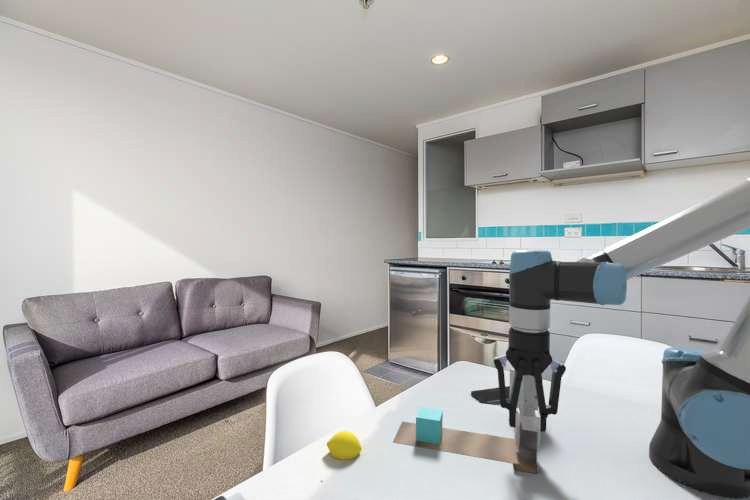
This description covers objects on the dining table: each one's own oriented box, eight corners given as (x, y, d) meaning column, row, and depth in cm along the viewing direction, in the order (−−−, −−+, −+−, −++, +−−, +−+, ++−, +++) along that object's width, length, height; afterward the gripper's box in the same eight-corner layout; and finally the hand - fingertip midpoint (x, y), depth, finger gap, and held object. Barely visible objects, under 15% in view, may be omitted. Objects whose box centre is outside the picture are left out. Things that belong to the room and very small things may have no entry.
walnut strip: (531, 447, 76) (532, 413, 76) (537, 473, 68) (538, 435, 68) (402, 426, 85) (402, 396, 84) (392, 447, 76) (393, 413, 76)
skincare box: (524, 425, 86) (525, 374, 85) (507, 417, 90) (508, 368, 89) (539, 418, 89) (540, 369, 89) (523, 410, 93) (523, 364, 93)
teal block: (442, 432, 80) (442, 410, 80) (439, 444, 75) (439, 420, 75) (419, 428, 81) (420, 406, 81) (415, 440, 77) (415, 417, 76)
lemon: (360, 453, 75) (364, 428, 75) (358, 470, 69) (362, 443, 69) (327, 448, 75) (330, 423, 75) (322, 465, 70) (326, 437, 69)
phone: (532, 396, 100) (485, 403, 95) (532, 400, 100) (485, 407, 96) (514, 385, 107) (469, 391, 103) (514, 389, 107) (469, 395, 103)
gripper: (569, 326, 73) (567, 440, 74) (486, 320, 78) (484, 428, 78) (579, 336, 66) (576, 462, 67) (486, 329, 70) (484, 447, 71)
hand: (526, 443), depth 72 cm, fingers closed on walnut strip, 3 cm apart
